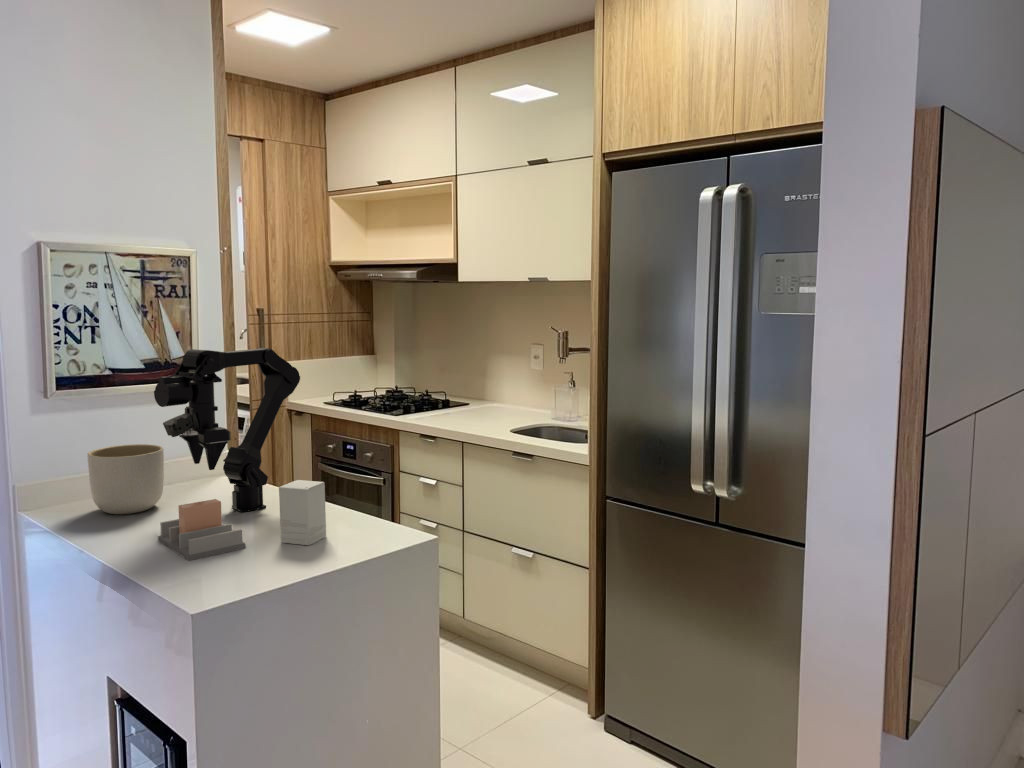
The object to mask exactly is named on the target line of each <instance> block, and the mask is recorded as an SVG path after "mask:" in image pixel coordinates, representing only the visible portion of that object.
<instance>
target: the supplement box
mask: <svg viewBox="0 0 1024 768" xmlns="http://www.w3.org/2000/svg"><path fill="white" fill-rule="evenodd" d="M325 484H326V483H325V482H324V481H317V480H316V481H315V480H314V481H313V480H305V479H302V480H301V479H296V480H293V481H291V482H289V483H285V484H283V485H281V486H278V499H279V501H278V503H279V523H280V542H281V543H283V544H284V543H285V544H294V545H300V546H301V545H302V546H311V545H312V544H314V543H317V542H318V541H320V540H322V539H324V538H325V537H327V520H326V519H327V518H326V517H327V515H326V514H327V513H326V491H325V490H326V485H325Z"/></svg>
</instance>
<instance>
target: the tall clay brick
mask: <svg viewBox="0 0 1024 768" xmlns="http://www.w3.org/2000/svg"><path fill="white" fill-rule="evenodd" d="M177 508H178V519H179V530H180V533H185V532H190V531H195V530H200V529H206V528H211V527H216V526H221V525H223V519H222V518H223V517H222V500H221V501H220V500H218V499H216V498H212V499H208V500H202V501H201V500H200V501H196V502H192V503H184V504H179V505H178V507H177Z"/></svg>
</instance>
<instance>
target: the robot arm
mask: <svg viewBox="0 0 1024 768" xmlns="http://www.w3.org/2000/svg"><path fill="white" fill-rule="evenodd" d="M252 365H257V366H258V368H259V371H260V372H261V374H262V375H263V376H264V377H265V379H264V382H263V387H264V395H263V397H262V400H261V401H260V403H259V406H258V408H257V410H256V412H255V414H254V416H253V418H252V421H251V422H250V425H249V427H248V429H247V432H246V433H245V436H244V437H243V440H242V442H241V443H240V444H239V445H237V447H235V446H230V447H229V449H228V452H227V455H226V456H225V458H224V459H223V462H224V463H223V465H222V466H223V467H222V470H223V472H224V474H225V477H227V479H228V481H229V484H230V485H233V491H232V492H231V495H232V496H231V499H232V504H231V508H232V509H234V510H236V511H239V512H241V513H244V512H250V511H256V510H260V509H261V510H262V509H266V508H267V505H265V504H264V496H263V495H264V494H263V493H264V491H263V488H264V487H263V486H266V485H267V484H268V483H267V482H268V479H269V477H268V475H267V474H266V473H265V472H264V471H263V470H262V469H260V468H261V465H262V456H261V455H262V453H261V450H262V449H263V447H264V443H265V442H266V439H267V436H268V435H269V432H270V430H271V429H272V426H273V424H274V421H275V419H276V417H277V415H278V413H279V411H280V409H281V406H282V404H283V402H284V401H285V400H286V399H287V398H288V397H289V396H291V395H292V394H294V393H293V392H294V391H295V389H296V388H298V387H297V386H298V385H299V383H300V381H301V375H300V373H299V370H298V369H297V368H296V367H295V366H292V365H291V363H289V362H288V361H287V360H285V359H284V358H282V357H281V356H279V355H278V353H277V352H275V350H273V349H272V348H268V347H267V348H266V347H257V348H254V349H253V348H251V349H242V350H241V349H240V350H239V349H238V350H227V351H218V350H210V349H209V350H208V349H194V348H193V349H188V350H187V351H186V352H185V353H184V354H183V357H182V361H181V362H180V364H179V366H178V367H177V369H176V370H175V372H174V374H173V376H160V377H159V378H158V380H159V382H157V384H156V386H155V388H154V389H155V390H154V391H153V396H154V400H155V403H156V404H157V405H158V406H159V407H162V408H165V407H166V408H167V407H172V406H181V405H185V407H184V413H183V414H179V415H177V416H174V417H172V418H169V419H168V420H166V421H163V423H162V425H163V428H164V429H165V431H166V434H167V436H168V437H169V436H170V437H171V438H176V437H178V436H179V438H180V439H183V440H184V441H185V442H186V443H187V446H188V448H189V449H188V450H189V451H190V454H191V457H192V460H193V463H194V465H197V464H200V463H201V459H202V456H203V451H204V452H205V456H206V461H207V467H208V470H209V471H213V470H215V469H216V466H217V464H218V462H219V459H220V457H221V455H222V453H223V451H224V449H225V447H226V445H227V444H229V441H231V431H230V430H228V429H227V428H225V427H222V426H219V423H218V422H216V412H217V411H219V407H218V406H217V405H215V404H216V403H215V384H216V383H221V382H223V379H222V378H221V377H219V376H218V375H217V374H216V373H217V372H221V371H222V370H224V369H227V368H232V367H240V366H241V367H242V366H252ZM187 404H188V406H187Z"/></svg>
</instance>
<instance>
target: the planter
mask: <svg viewBox="0 0 1024 768" xmlns="http://www.w3.org/2000/svg"><path fill="white" fill-rule="evenodd" d="M164 457H165V455H164V447H163V446H161V445H157V444H145V443H144V444H143V443H142V444H140V443H139V444H135V443H134V444H122V445H120V444H119V445H113V446H106V447H100V448H96V449H92V450H91V451H89V452H88V453H87V463H88V465H87V467H88V478H89V487H90V488H89V489H90V494H91V497H92V501H93V503H94V504H95V506H97V508H98V509H100V510H101V511H103V512H104V513H107V514H110V515H112V514H113V515H130V514H131V515H132V514H137V513H141V512H145V511H147V510H150V509H152V508H153V507H154V506H155V505H157V503H158V502H159V501H160V500H161V498H162V496H163V493H164V486H165V483H164V482H165V468H164V466H165V464H164V463H165V460H164Z"/></svg>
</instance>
